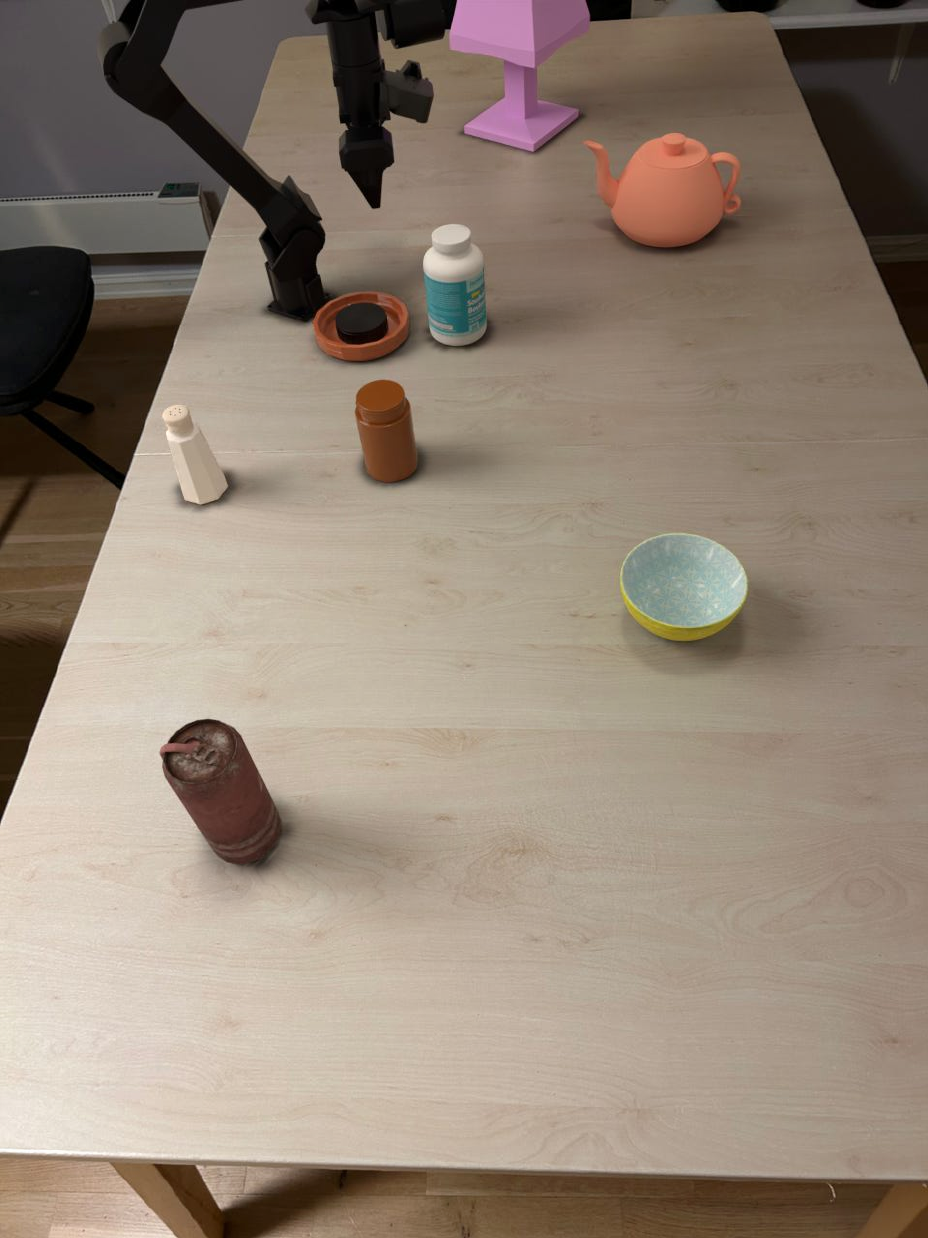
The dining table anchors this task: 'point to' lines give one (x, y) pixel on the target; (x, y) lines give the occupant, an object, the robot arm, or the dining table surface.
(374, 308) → the lid
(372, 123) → the robot arm
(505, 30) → the pink table lamp
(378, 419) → the jam jar
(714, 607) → the bowl
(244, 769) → the can
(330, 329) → the dish
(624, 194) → the teapot
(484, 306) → the pill bottle
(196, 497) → the pepper shaker
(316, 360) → the dining table surface
